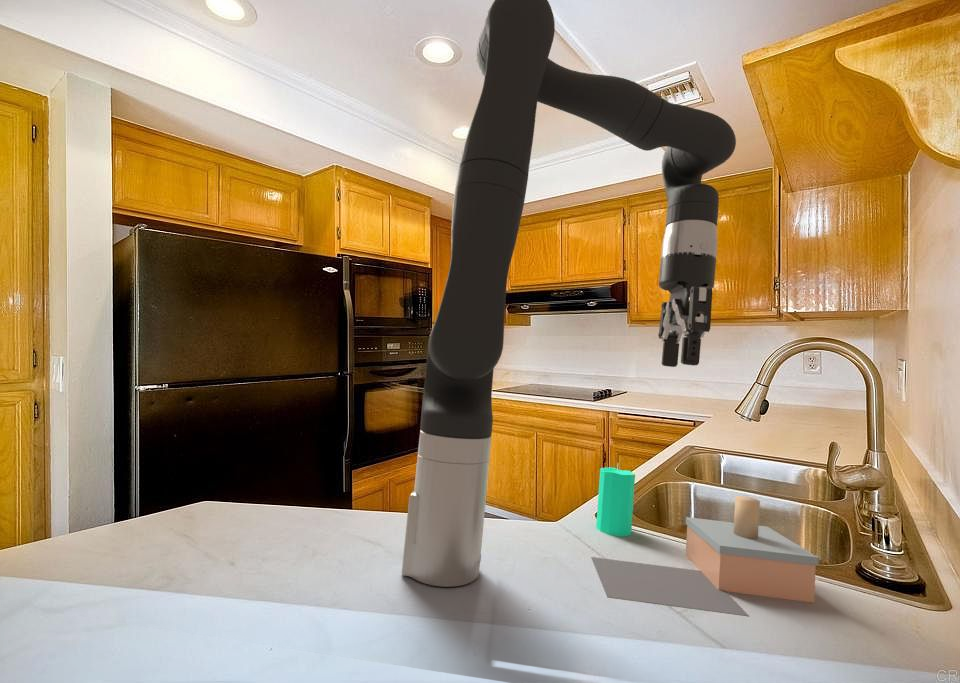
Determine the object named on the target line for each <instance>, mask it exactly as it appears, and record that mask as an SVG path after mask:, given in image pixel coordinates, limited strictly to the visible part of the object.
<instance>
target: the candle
mask: <svg viewBox="0 0 960 683" xmlns="http://www.w3.org/2000/svg"><path fill="white" fill-rule="evenodd" d="M616 466H617V468H616V467H614V466H613V467H610V466H609V467H601V468H600V471H599V483H598V495H597V496H598V497H597V512H596V522H595V523H596V525H595V528H596V530H598V531H599V532H601V533H604V534H605V535H606V534H607V535H610V536H615V537H628V536H631V535H632V529H633V527H632V526H633V512H634V499H635V497H634V496H635V486H636V485H635V484H636V483H635V482H636V481H635V480H636V474H635V473H633V472H632V471H631V470H621V469H619V462H617V465H616Z"/></svg>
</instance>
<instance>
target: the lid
mask: <svg viewBox="0 0 960 683" xmlns="http://www.w3.org/2000/svg"><path fill="white" fill-rule="evenodd" d="M734 499H735V500H734V516H733V517H734V518H733V522H732V521H723V520H722V521H721V520H714V519H705V518H696V517H688V516H686V517H685V525H686V526H687V525H688V526H689V527H690V528H691V529H692V530H693V531H695V532H696V533H697V534H698V535H699V536H700V537H701V538H703V539H704V540H705V541H706V542H707V543H708V544H709V545H710V546H712V547H713V548H714V549H715V550H716V551H717V552H718V553H720V554H728V555H736V556H744V557H752V558H760V559H768V560H776V561H785V562H793V563H801V564H809V565H816V566H819V565H820V564H819V562H820V560H819V558H820V557H819V556H817V555H815V554H814V553H812V552H810V551H809V550H807V549H805V547H804V548H803V547H802V546H800V545H798V544H797V543H795V542H794V541H792V540H790V539H789V538H788V537H785V536H783V535H782V534H780V533H779V532H777V531H775V530H773V528H770V527H769V526H766V525H760V507H761V506H760V505H761V504H760V503H761V501H760V500H758V499H756V498H753V497H748V496H744V495H743V496H741V495H736V496H735V498H734Z"/></svg>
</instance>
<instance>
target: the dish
mask: <svg viewBox="0 0 960 683" xmlns="http://www.w3.org/2000/svg"><path fill="white" fill-rule="evenodd" d="M685 540H686V542H685V556H686V557H687V559H688V560H689V561H691V562H692V564H693V565H694V566H695V567H696V568H697V570H698V571H701V572H702V573H703V574H704V575H705V576H706V577H707V578H708V579H709V580H710V581H711V582H712V584H713V585H714V586H715V587H716V588H717V589H718V590H723V591H726V592H727V593H729V592H730V593H736V594H746V595H752V596H760V597H766V598H775V599H782V600H791V601H799V602H805V603H813V604H814V603H815V592H816V571H817V570H816V568H817V567H816V566H817V565H809V564H801V563H793V562H785V561H776V560H768V559H760V558H752V557H744V556H736V555H728V554H720V553H718V552H717V551H716V550H715V549H714V548H713V547H712V546H710V545H709V544H708V543H707V542H706V541H705V540H704V539H703V538H701V537H700V536H699V535H698V534H697V533H696V532H695V531H693V530H692V529H691V528H690V527H689V526H688V525H687V524H686V539H685Z"/></svg>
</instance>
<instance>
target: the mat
mask: <svg viewBox="0 0 960 683" xmlns="http://www.w3.org/2000/svg"><path fill="white" fill-rule="evenodd" d="M591 559H592V562H593V565H594V568H595V570H596V573H597V575H598V577H599V580H600V583H601V584H602V587H603V590H604V593H605V594H606V597H607V598H610V599H616V600H625V601H632V602H639V603H640V602H641V603H646V604H652V605H653V604H654V605H660V606H661V605H662V606H668V607H676V608H684V609H693V610H697V611H699V610H700V611H707V612H715V613H721V614H728V615H737V616H744V617H750V615H749V614H748V613H747V612H746V610H744V609H743V608H742V607H741V606H740V605H739V604H738V602H736V600H734V598H733V597H732V596H730V594H729V592H728V591H723V590H718V589H717V588H716V587H715V586H714V585H713V584H712V582H711V581H710V580H709V579H708V578H707V577H706V576H705V575H704V574H703V573H702V572H701V571H700V570H699V569H697V570H696V569H688V568H680V567H673V566H665V565H658V564H650V563H642V562H633V561H625V560H617V559H610V558H609V559H608V558H604V557H603V558H602V557H596V556H595V557H594V556H591Z"/></svg>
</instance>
